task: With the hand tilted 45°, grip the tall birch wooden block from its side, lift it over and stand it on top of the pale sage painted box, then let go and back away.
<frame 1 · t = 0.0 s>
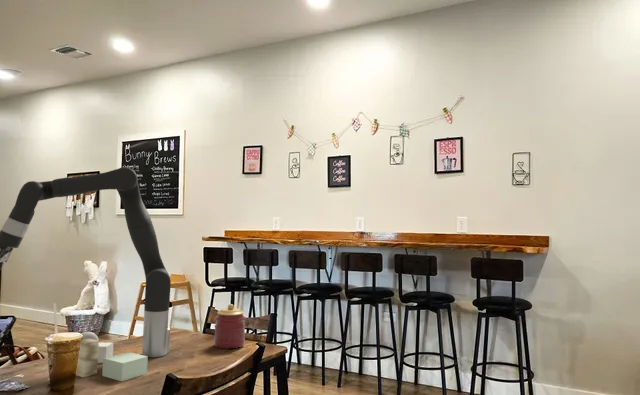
birch block: (85, 374, 162), on the table
white cube: (101, 361, 178), on the table
canister: (229, 346, 205), on the table
donut: (84, 359, 180), on the table
sage box: (124, 375, 162), on the table
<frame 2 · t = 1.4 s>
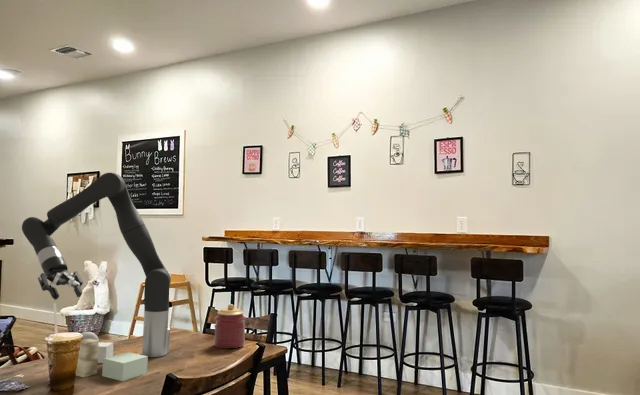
hand: (68, 296, 169), 25 cm above the table, tool tilted 45°, fingers open, 8 cm apart
nothing on the table moved.
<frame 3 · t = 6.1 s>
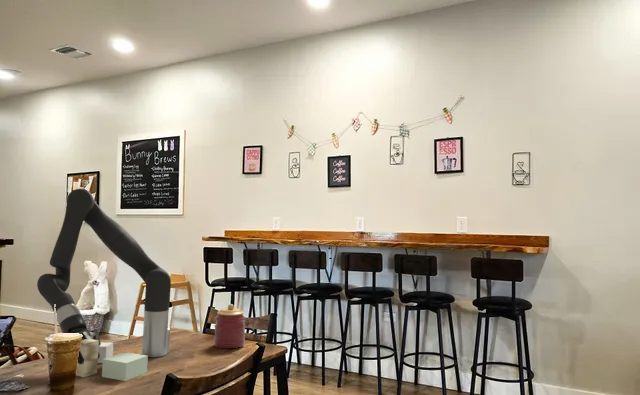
hand: (89, 360, 161), 5 cm above the table, tool tilted 45°, fingers closed on birch block, 5 cm apart
birch block: (85, 374, 162), on the table, touching gripper
everything else where it was.
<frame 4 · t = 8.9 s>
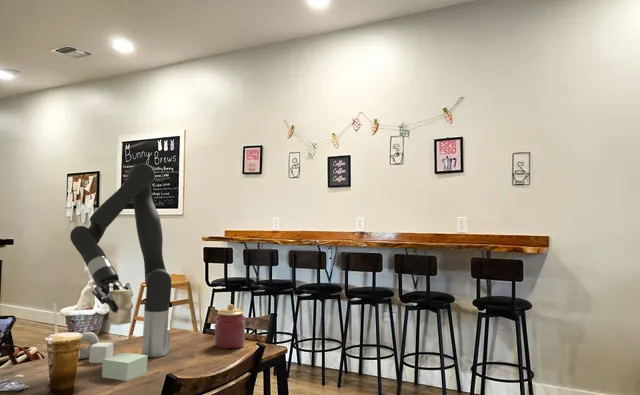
hand: (123, 309, 163), 22 cm above the table, tool tilted 45°, fingers closed on birch block, 5 cm apart
birch block: (119, 323, 164), point 17 cm above the table, touching gripper
everything else where it was.
when the fingers open (12 cm above the table, at t = 11.5 s): birch block drops 2 cm, resting on sage box.
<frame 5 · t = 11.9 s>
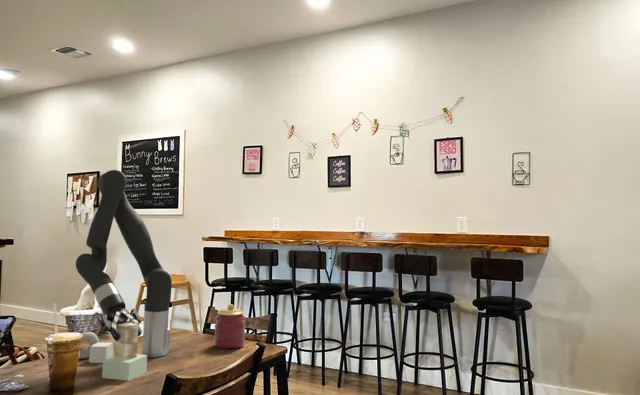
hand: (129, 337, 163), 13 cm above the table, tool tilted 45°, fingers open, 8 cm apart
birch block: (125, 357, 163), point 6 cm above the table, touching sage box
sage box: (124, 375, 162), on the table, touching birch block
everything else where it was.
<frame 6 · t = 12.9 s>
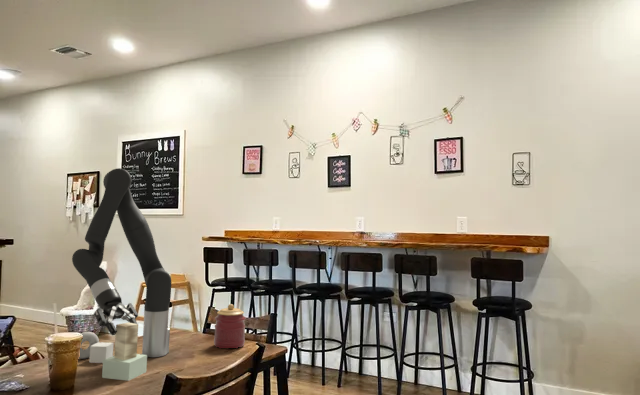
hand: (125, 331, 164), 14 cm above the table, tool tilted 45°, fingers open, 8 cm apart
nothing on the table moved.
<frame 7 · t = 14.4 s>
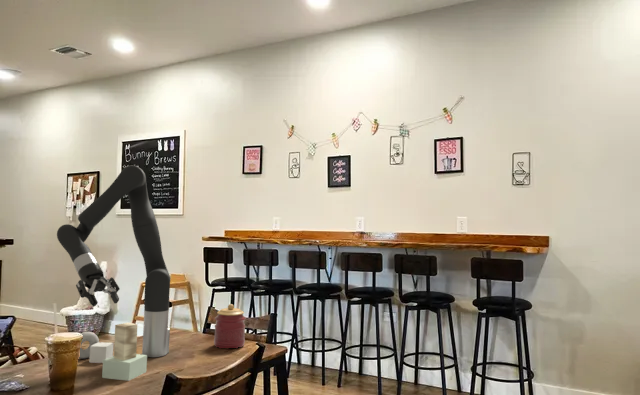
hand: (106, 303, 170), 23 cm above the table, tool tilted 45°, fingers open, 8 cm apart
nothing on the table moved.
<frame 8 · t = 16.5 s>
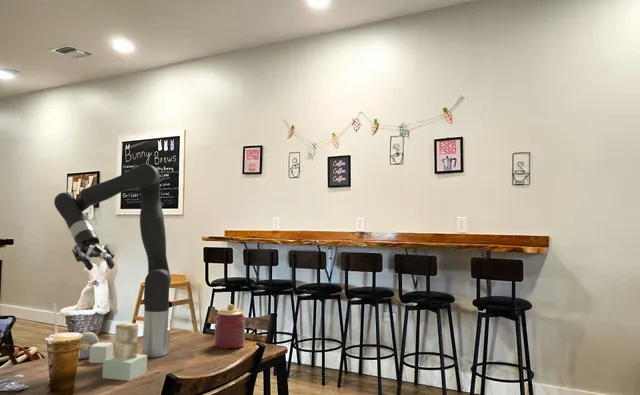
hand: (102, 268, 174), 35 cm above the table, tool tilted 45°, fingers open, 8 cm apart
nothing on the table moved.
at the end: birch block inside the target area on the sage box (0.2 cm from its centre), point 6.0 cm above the sage box's base; birch block tilted 1°; the gripper is holding nothing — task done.
